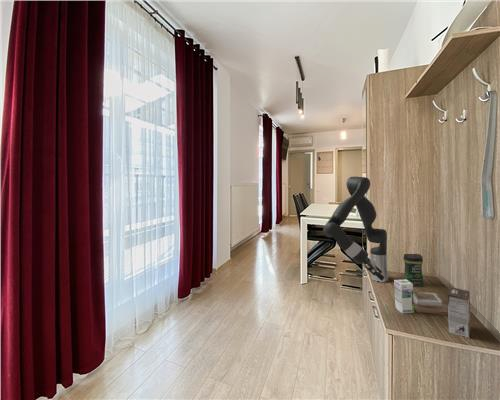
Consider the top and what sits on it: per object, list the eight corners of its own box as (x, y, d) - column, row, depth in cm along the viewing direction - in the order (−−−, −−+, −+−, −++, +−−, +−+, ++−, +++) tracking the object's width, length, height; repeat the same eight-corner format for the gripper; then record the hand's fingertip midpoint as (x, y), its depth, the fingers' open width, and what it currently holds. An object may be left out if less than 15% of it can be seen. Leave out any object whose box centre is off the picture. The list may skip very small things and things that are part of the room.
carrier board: (406, 293, 131) (406, 290, 131) (436, 296, 126) (436, 293, 126) (416, 311, 113) (416, 308, 113) (453, 315, 107) (452, 312, 107)
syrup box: (402, 313, 112) (401, 284, 111) (395, 307, 118) (394, 279, 117) (414, 313, 111) (413, 283, 111) (406, 307, 117) (405, 278, 117)
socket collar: (411, 296, 124) (411, 291, 124) (434, 298, 121) (434, 293, 120) (417, 305, 115) (417, 299, 115) (442, 308, 111) (442, 302, 111)
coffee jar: (407, 286, 140) (406, 256, 139) (401, 281, 147) (401, 252, 146) (426, 287, 138) (425, 255, 137) (419, 281, 145) (418, 252, 145)
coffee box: (450, 322, 103) (449, 286, 102) (470, 328, 98) (470, 290, 97) (448, 332, 96) (447, 294, 95) (469, 339, 92) (468, 298, 91)
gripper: (362, 251, 113) (390, 276, 109) (360, 244, 126) (385, 266, 123) (350, 261, 116) (378, 286, 112) (350, 253, 129) (374, 275, 125)
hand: (381, 275), depth 117 cm, fingers open, 8 cm apart
